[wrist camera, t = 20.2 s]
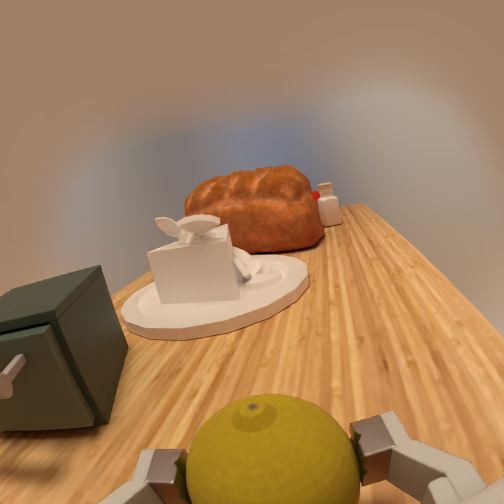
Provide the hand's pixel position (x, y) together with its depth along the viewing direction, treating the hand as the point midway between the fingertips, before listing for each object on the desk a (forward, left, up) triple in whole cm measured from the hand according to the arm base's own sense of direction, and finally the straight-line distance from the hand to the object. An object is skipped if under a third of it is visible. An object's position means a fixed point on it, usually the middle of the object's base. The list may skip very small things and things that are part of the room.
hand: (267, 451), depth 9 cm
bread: (+2, +54, -5) cm, 54 cm away
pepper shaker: (+20, +62, -5) cm, 65 cm away
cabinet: (-18, +13, -5) cm, 23 cm away
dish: (-5, +32, -5) cm, 33 cm away
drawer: (-17, +9, -4) cm, 20 cm away
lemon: (0, -1, -5) cm, 5 cm away
